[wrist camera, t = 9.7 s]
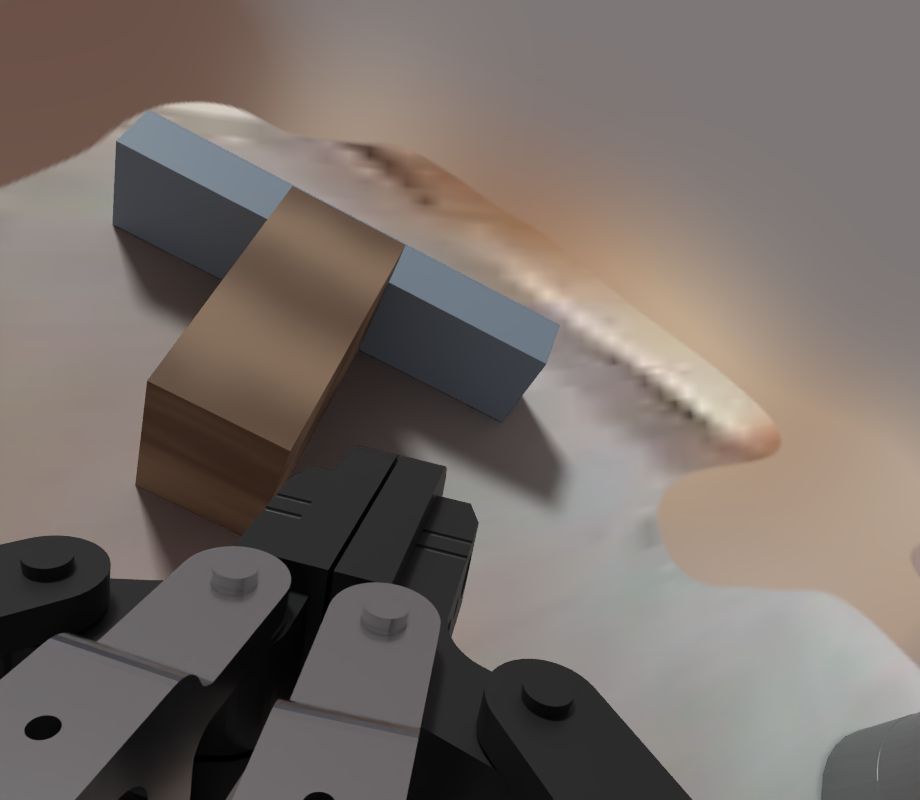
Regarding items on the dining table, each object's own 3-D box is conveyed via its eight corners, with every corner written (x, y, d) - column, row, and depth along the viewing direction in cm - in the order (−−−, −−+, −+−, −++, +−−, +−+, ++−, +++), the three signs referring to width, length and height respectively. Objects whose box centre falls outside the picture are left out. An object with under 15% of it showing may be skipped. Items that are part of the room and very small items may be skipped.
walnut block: (253, 542, 40) (290, 451, 33) (135, 485, 40) (147, 380, 33) (358, 350, 48) (405, 244, 41) (261, 301, 48) (292, 185, 41)
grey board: (501, 422, 49) (546, 363, 44) (112, 224, 47) (116, 141, 42) (515, 384, 51) (559, 324, 46) (142, 192, 49) (148, 109, 44)
